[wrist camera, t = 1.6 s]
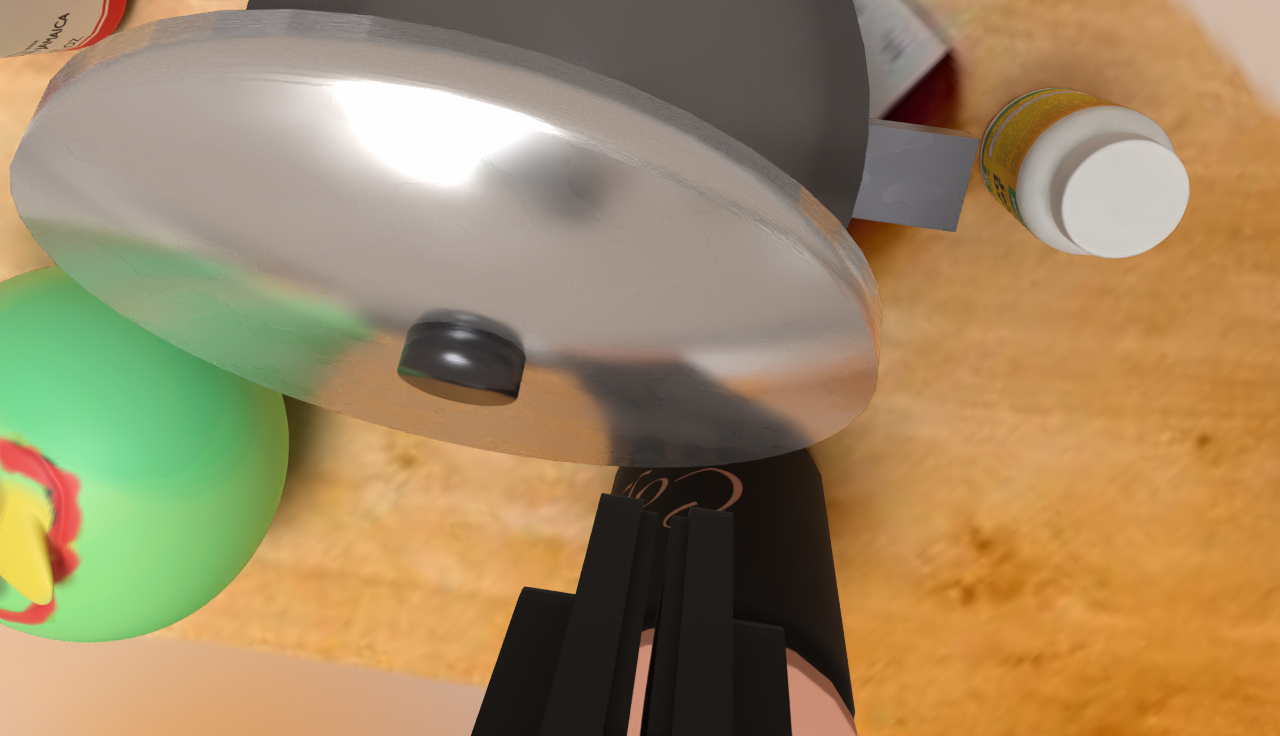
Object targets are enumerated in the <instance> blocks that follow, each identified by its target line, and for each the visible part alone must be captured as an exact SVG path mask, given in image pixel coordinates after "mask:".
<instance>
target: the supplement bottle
mask: <svg viewBox="0 0 1280 736" xmlns="http://www.w3.org/2000/svg"><path fill="white" fill-rule="evenodd" d="M980 168H981V174H982V178H983V181H984V183H985V185H986V187H987V189H988V190H989V192H990V193H991V194H992V195H993V197H994V198H995V199H996V200H997V201H998V202H999V203H1000V204H1001V205H1003V206H1004V207H1005V208H1006V209H1007V210H1008V211H1009V212H1010V213H1011V214H1012V215H1013V216H1014V217H1015V218H1016V219H1017V220H1018V221H1019V222H1021V224H1022V225H1024V226H1025V227H1026V228H1027V229H1028V230H1029V231H1030V232H1031V233H1032V234H1033V235H1034V236H1035V237H1036V238H1037V239H1039V240H1040V241H1042V242H1043V243H1045V244H1047V245H1048V246H1050V247H1052V248H1054V249H1057V250H1059V251H1062V252H1066V253H1069V254H1076V255H1095V256H1099V257H1104V258H1125V257H1130V256H1134V255H1137V254H1140V253H1143V252H1145V251H1147V250H1149V249H1151V248H1153V247H1154V246H1156V245H1157V244H1159V243H1160V242H1161V241H1163V240H1164V239H1165V238H1166V237H1167V236H1168V235H1169V234H1170V233H1171V232H1172V231H1173V230H1174V229H1175V227H1176V226H1177V225H1178V223H1179V221H1180V220H1181V218H1182V216H1183V214H1184V212H1185V209H1186V206H1187V203H1188V199H1189V179H1188V175H1187V172H1186V169H1185V167H1184V165H1183V163H1182V162H1181V160H1180V159H1179V158H1178V157H1177V155H1176V153H1175V150H1174V147H1173V145H1172V143H1171V141H1170V139H1169V137H1168V136H1167V134H1166V133H1165V132H1164V130H1163V129H1162V128H1161V127H1160V126H1159V125H1158V124H1157V123H1156V122H1154V121H1153V120H1152V119H1150V118H1149V117H1147V116H1146V115H1144V114H1142V113H1139V112H1137V111H1135V110H1132V109H1129V108H1126V107H1123V106H1120V105H1117V104H1114V103H1111V102H1108V101H1106V100H1103V99H1100V98H1097V97H1095V96H1092V95H1089V94H1086V93H1084V92H1081V91H1078V90H1073V89H1069V88H1058V87H1056V88H1045V89H1040V90H1036V91H1032V92H1029V93H1027V94H1024V95H1022V96H1020V97H1018V98H1017V99H1015V100H1013V101H1012V102H1011V103H1009V104H1008V105H1007V106H1005V107H1004V108H1003V109H1002V110H1001V111H1000V112H999V113H998V114H997V115H996V117H995V118H994V119H993V121H992V122H991V123H990V125H989V127H988V128H987V130H986V132H985V135H984V138H983V142H982V145H981V152H980Z"/></svg>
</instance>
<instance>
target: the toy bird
mask: <svg viewBox="0 0 1280 736" xmlns="http://www.w3.org/2000/svg"><path fill="white" fill-rule="evenodd" d="M288 457H289V431H288V421H287V414H286V409H285V404H284V400H283V396H282V393H280V392H277V391H275V390H272V389H269V388H267V387H264V386H262V385H259V384H257V383H254V382H252V381H250V380H247V379H245V378H243V377H240V376H238V375H236V374H233V373H231V372H229V371H226V370H224V369H222V368H219V367H217V366H215V365H213V364H211V363H209V362H207V361H205V360H203V359H201V358H199V357H196V356H194V355H192V354H190V353H188V352H186V351H184V350H182V349H180V348H178V347H177V346H175V345H173V344H171V343H169V342H167V341H166V340H164V339H162V338H160V337H158V336H156V335H154V334H153V333H151V332H149V331H147V330H146V329H144V328H143V327H141V326H139V325H138V324H136V323H134V322H133V321H131V320H130V319H128V318H126V317H125V316H123V315H121V314H120V313H118V312H117V311H115V310H114V309H112V308H111V307H110V306H108V305H107V304H105V303H104V302H103V301H101V300H100V299H98V298H97V297H96V296H94V295H93V294H91V293H90V292H89V291H87V290H86V289H85V288H84V287H82V286H81V285H80V284H79V283H78V282H77V281H75V280H74V279H73V278H72V277H71V276H70V275H68V274H67V273H66V272H65V271H64V270H63V269H61V268H60V267H59V266H52V267H47V268H42V269H38V270H34V271H30V272H27V273H24V274H21V275H18V276H15V277H13V278H10V279H8V280H6V281H4V282H1V283H0V623H1V624H3V625H5V626H8V627H10V628H13V629H15V630H18V631H21V632H24V633H27V634H31V635H35V636H39V637H43V638H48V639H54V640H60V641H70V642H107V641H116V640H122V639H128V638H133V637H137V636H141V635H145V634H148V633H151V632H154V631H157V630H160V629H162V628H165V627H167V626H169V625H172V624H174V623H176V622H178V621H180V620H182V619H184V618H186V617H187V616H189V615H191V614H192V613H194V612H196V611H197V610H199V609H200V608H202V607H203V606H204V605H206V604H207V603H208V602H210V601H211V600H212V599H214V598H215V597H216V596H217V595H218V594H219V593H220V592H222V591H223V590H224V589H225V588H226V587H227V586H228V585H229V584H230V583H231V582H232V581H233V580H234V578H235V577H236V576H237V575H238V574H239V573H240V572H241V570H242V569H243V568H244V567H245V565H246V564H247V563H248V561H249V560H250V559H251V557H252V556H253V554H254V553H255V551H256V550H257V548H258V547H259V545H260V543H261V542H262V540H263V538H264V536H265V535H266V533H267V531H268V529H269V527H270V525H271V522H272V520H273V518H274V515H275V513H276V510H277V508H278V505H279V502H280V499H281V496H282V492H283V488H284V484H285V479H286V474H287V467H288Z"/></svg>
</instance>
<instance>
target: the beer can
mask: <svg viewBox="0 0 1280 736" xmlns="http://www.w3.org/2000/svg"><path fill="white" fill-rule="evenodd" d="M126 2H127V0H0V58H5V57H14V56H23V55H32V54H41V53H50V52H59V51H68V50H77V49H80V48H84V47H87V46H91V45H94V44H95V43H97V42H99V41H101V40H102V39H104V38H106V37H107V36H108V35H110V34H111V33H112V32H113V31H114V30H116V28H117V26H118V24H119V22H120V20H121V19H122V17H123V15H124V13H125V8H126Z"/></svg>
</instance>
